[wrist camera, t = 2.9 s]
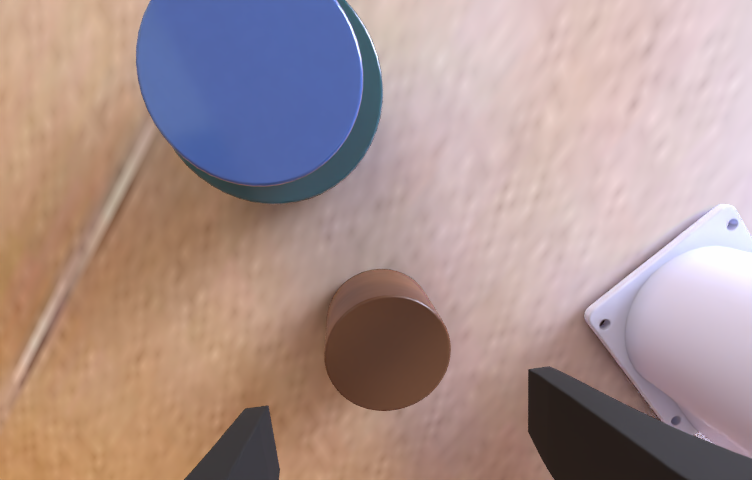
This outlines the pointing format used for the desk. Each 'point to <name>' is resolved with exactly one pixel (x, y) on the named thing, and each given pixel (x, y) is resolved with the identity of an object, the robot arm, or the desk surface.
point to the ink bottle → (261, 92)
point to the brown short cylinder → (384, 341)
